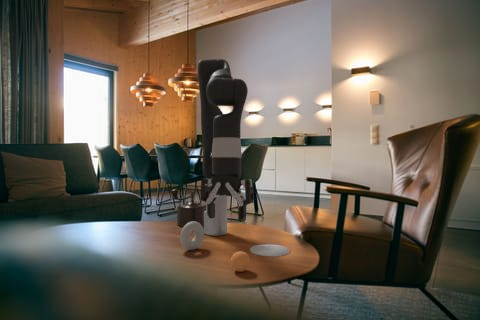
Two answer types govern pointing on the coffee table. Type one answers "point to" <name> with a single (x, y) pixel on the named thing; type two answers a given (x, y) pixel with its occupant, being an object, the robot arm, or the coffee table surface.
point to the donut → (186, 233)
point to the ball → (240, 261)
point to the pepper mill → (188, 210)
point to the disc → (270, 250)
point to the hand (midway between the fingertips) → (226, 219)
